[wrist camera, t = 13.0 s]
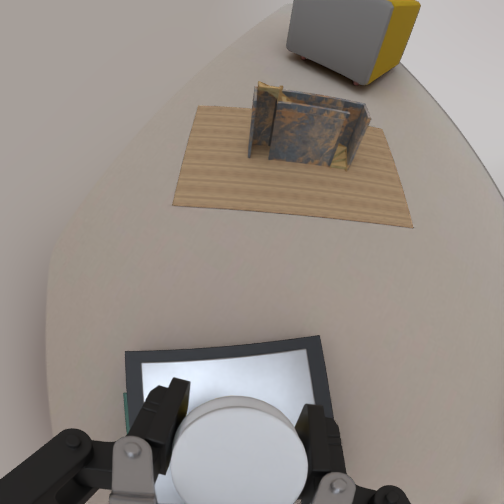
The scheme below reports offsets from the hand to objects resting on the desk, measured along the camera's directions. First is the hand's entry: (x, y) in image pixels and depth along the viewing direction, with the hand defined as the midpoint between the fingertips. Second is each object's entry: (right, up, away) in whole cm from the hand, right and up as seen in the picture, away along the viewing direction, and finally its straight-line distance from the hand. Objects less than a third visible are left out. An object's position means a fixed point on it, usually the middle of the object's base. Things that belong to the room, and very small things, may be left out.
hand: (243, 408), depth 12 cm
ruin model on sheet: (+5, +17, +22) cm, 28 cm away
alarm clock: (+17, +41, +35) cm, 57 cm away
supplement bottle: (-1, -4, +3) cm, 5 cm away
